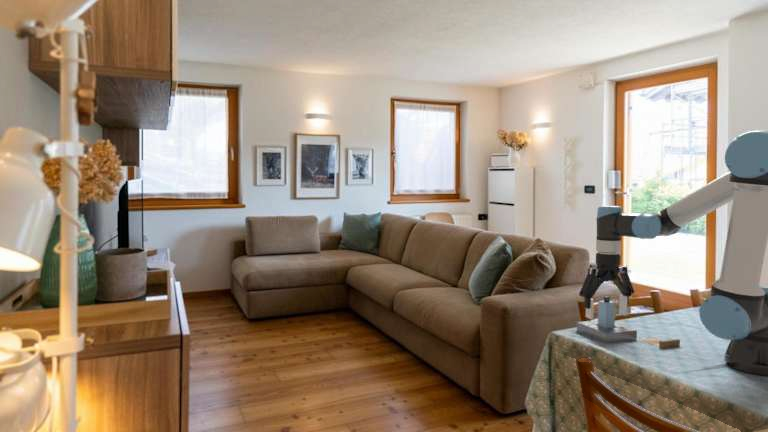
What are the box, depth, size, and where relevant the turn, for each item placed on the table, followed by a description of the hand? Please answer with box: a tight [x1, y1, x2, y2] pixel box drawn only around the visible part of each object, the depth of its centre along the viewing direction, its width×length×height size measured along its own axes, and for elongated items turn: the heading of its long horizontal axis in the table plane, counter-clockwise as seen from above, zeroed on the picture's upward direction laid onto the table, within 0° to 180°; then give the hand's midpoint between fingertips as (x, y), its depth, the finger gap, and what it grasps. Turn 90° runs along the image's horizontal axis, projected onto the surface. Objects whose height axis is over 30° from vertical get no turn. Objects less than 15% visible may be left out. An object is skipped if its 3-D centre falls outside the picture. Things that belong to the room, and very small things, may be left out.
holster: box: [639, 337, 681, 349], centre depth 163 cm, size 9×7×3 cm
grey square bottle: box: [597, 295, 616, 329], centre depth 171 cm, size 4×4×14 cm
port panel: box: [576, 319, 638, 344], centre depth 171 cm, size 14×12×4 cm
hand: (606, 316), depth 171 cm, fingers open, 13 cm apart
